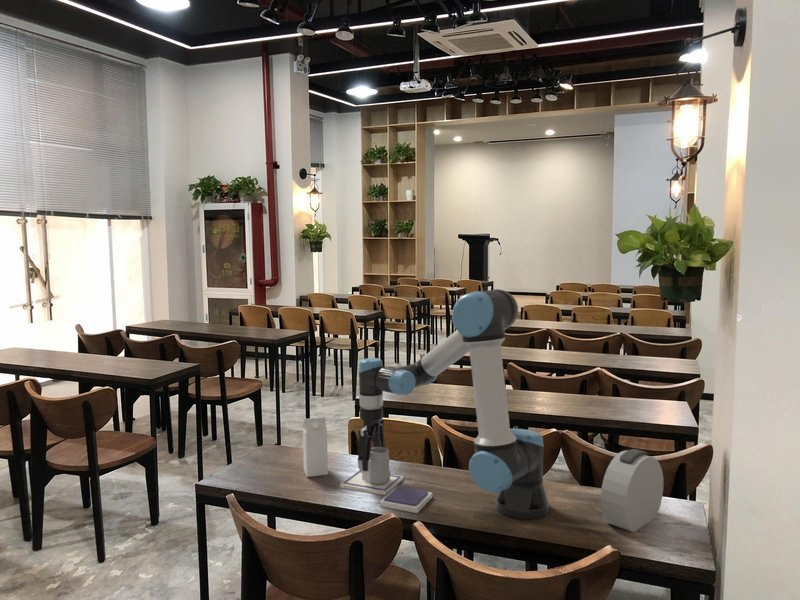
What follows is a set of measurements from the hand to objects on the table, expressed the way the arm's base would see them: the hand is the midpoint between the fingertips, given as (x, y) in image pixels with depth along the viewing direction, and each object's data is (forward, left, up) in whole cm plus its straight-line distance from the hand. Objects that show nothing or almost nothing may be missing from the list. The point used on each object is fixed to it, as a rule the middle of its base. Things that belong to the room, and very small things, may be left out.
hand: (372, 475), depth 199 cm
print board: (0, 0, -3) cm, 3 cm away
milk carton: (+22, -1, -3) cm, 22 cm away
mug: (0, 0, -1) cm, 1 cm away
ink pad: (-16, +9, -3) cm, 18 cm away
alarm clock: (-79, -4, -3) cm, 79 cm away
